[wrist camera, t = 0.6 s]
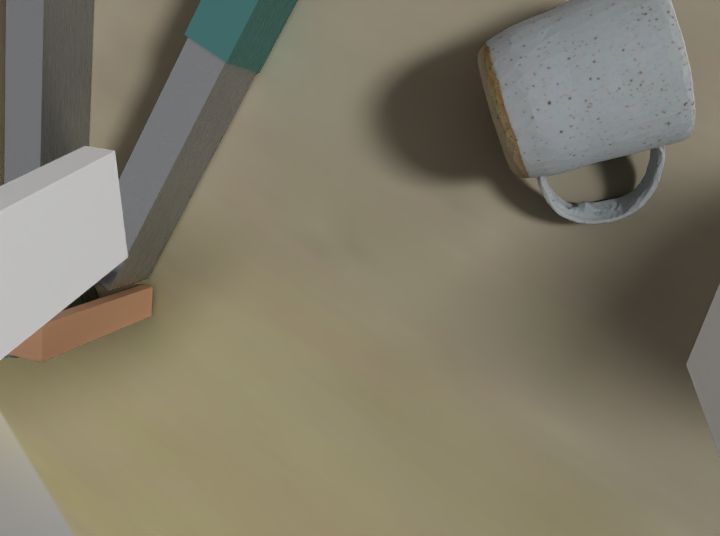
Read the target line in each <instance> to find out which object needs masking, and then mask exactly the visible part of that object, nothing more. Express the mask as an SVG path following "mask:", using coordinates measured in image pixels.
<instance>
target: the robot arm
mask: <svg viewBox="0 0 720 536" xmlns="http://www.w3.org/2000/svg"><path fill="white" fill-rule="evenodd" d="M126 258H128V253H127V245H126V236H125V228H124V220H123V212H122V204H121V195H120V187H119V179H118V171H117V163H116V154H115V151H114V150H108V149H102V148H95V147H89V146H83V147H81V148H79V149H77V150H75V151H73V152H71V153H69V154H67V155H65V156H62V157H60V158H58V159H56V160H54V161H52V162H50V163H48V164H46V165H44V166H42V167H39V168H37V169H35V170H33V171H31V172H29V173H27V174H25V175H23V176H21V177H18V178H16V179H14V180H12V181H10V182H8V183H6V184H4V185H2V186H0V360H1V359H2V358H4V357H5V356H6V355H7V354H9V353H10V352H11V351H12V350H14V349H15V348H16V347H17V346H19V345H20V344H21V343H22V342H24V341H25V340H26V339H27V338H28V337H30V336H31V335H32V334H33V333H35V332H36V331H37V330H38V329H40V328H41V327H42V326H43V325H45V324H46V323H47V322H48V321H50V320H51V319H52V318H53V317H55V316H56V315H57V314H58V313H60V312H61V311H62V310H63V309H64V308H66V307H67V306H68V305H69V304H71V303H72V302H73V301H74V300H76V299H77V298H78V297H79V296H81V295H82V294H83V293H84V292H86V291H87V290H88V289H89V288H91V287H92V286H93V285H94V284H95V283H97V282H98V281H99V280H100V279H102V278H103V277H104V276H105V275H107V274H108V273H109V272H110V271H112V270H113V269H114V268H115V267H117V266H118V265H119V264H120V263H122V262H123V261H124V260H125V259H126ZM686 366H687V369H688V371H689V374H690V377H691V380H692V382H693V385H694V388H695V391H696V393H697V396H698V399H699V402H700V404H701V407H702V410H703V413H704V415H705V418H706V421H707V424H708V426H709V429H710V432H711V435H712V437H713V440H714V443H715V446H716V448H717V451H718V454H719V457H720V284H719V287H718V289H717V291H716V294H715V296H714V299H713V301H712V303H711V306H710V308H709V311H708V313H707V316H706V318H705V320H704V323H703V325H702V328H701V330H700V332H699V335H698V337H697V340H696V342H695V344H694V347H693V349H692V352H691V354H690V356H689V359H688V361H687V364H686Z"/></svg>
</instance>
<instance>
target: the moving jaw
mask: <svg viewBox="0 0 720 536" xmlns="http://www.w3.org/2000/svg"><path fill="white" fill-rule="evenodd" d="M297 1H298V0H201V1H200V3H199V5H198V7H197V9H196V11H195V13H194V15H193V17H192V19H191V21H190V24H189V26H188V28H187V30H186V32H185V34H184V35H185V36H187V37H188V39H187V41H186V43H185V45H184V47H183V49H182V51H181V53H180V55H179V57H178V59H177V61H176V63H175V65H174V67H173V69H172V71H171V73H170V76H169V78H168V80H167V82H166V84H165V86H164V88H163V90H162V92H161V94H160V96H159V98H158V100H157V102H156V104H155V106H154V108H153V111H152V113H151V115H150V117H149V119H148V121H147V123H146V125H145V127H144V129H143V131H142V133H141V135H140V137H139V139H138V141H137V143H136V145H135V148H134V150H133V152H132V154H131V156H130V158H129V160H128V162H127V164H126V166H125V168H124V170H123V172H122V174H121V176H120V178H119V187H120V195H121V204H122V212H123V220H124V228H125V236H126V245H127V253H128V258H126V259H125V260H124V261H123V262H122V263H120V264H119V265H118V266H117V267H115V268H114V269H113V270H112V271H110V272H109V273H108V274H107V275H105V276H104V277H103V278H102V279H100V280H99V281H98V282H97V283H99V284H100V285H102V286H103V287H104V288H106V289H107V290H109V291H110V290H113V289H116V288H119V287H123V286H126V285H129V284H132V283H135V282H138V281H141V280H145V279H148V277H149V275H150V273H151V271H152V269H153V268H154V266H155V264H156V262H157V260H158V258H159V256H160V254H161V252H162V251H163V249H164V247H165V245H166V243H167V241H168V239H169V237H170V235H171V234H172V232H173V230H174V228H175V226H176V224H177V222H178V220H179V218H180V216H181V215H182V213H183V211H184V209H185V207H186V205H187V203H188V201H189V199H190V198H191V196H192V194H193V192H194V190H195V188H196V186H197V184H198V182H199V181H200V179H201V177H202V175H203V173H204V171H205V169H206V167H207V165H208V164H209V162H210V160H211V158H212V156H213V154H214V152H215V150H216V148H217V146H218V145H219V143H220V141H221V139H222V137H223V135H224V133H225V131H226V129H227V128H228V126H229V124H230V122H231V120H232V118H233V116H234V114H235V112H236V111H237V109H238V107H239V105H240V103H241V101H242V99H243V97H244V95H245V93H246V92H247V90H248V88H249V86H250V84H251V82H252V80H253V78H254V76H255V75H256V73H259V72H260V70H261V68H262V67H263V65H264V63H265V61H266V59H267V57H268V55H269V53H270V51H271V50H272V48H273V46H274V44H275V42H276V40H277V38H278V36H279V34H280V33H281V31H282V29H283V27H284V25H285V23H286V21H287V19H288V17H289V16H290V14H291V12H292V10H293V8H294V6H295V4H296V2H297ZM95 284H96V283H95ZM11 356H13V355H9V354H7V355H6V356H5V357H4V358H7V357H11Z"/></svg>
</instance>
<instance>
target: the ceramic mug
mask: <svg viewBox="0 0 720 536" xmlns="http://www.w3.org/2000/svg"><path fill="white" fill-rule="evenodd" d="M477 61H478V67H479V72H480V76H481V81H482V84H483V88H484V92H485V95H486V99H487V102H488V106H489V110H490V113H491V117H492V120H493V123H494V126H495V129H496V132H497V135H498V137H499V140H500V143H501V146H502V149H503V152H504V155H505V158H506V160H507V163H508V165H509V167H510V169H511V171H512V172H513V173H514V174H516V175H518V176H520V177H522V178H535V177H537V180H538V184H539V187H540V189H541V193H542V194H543V196H544V198H545V199H546V201H547V203H548V204H549V205H550V206H551V208H552V209H553V210H554V211H555V212H556V213H557V214H558V215H560V216H562V217H564V218H566V219H568V220H570V221H574V222H577V223H580V224H602V223H608V222H612V221H616V220H619V219H623V218H625V217H627V216H630V215H631V214H633V213H635V212H636V211H638V210H639V209H640V208H641V207H642V206H644V205H645V203H646V202H647V201H648V200H649V198H650V197H651V196H652V195H653V193H654V192H655V189H656V187H657V186H658V184H659V181H660V178H661V175H662V171H663V167H664V160H665V145H669V144H673V143H676V142H680V141H683V140H685V139H686V138H688V137H690V136H691V134H692V132H693V128H694V123H695V98H694V92H693V81H692V75H691V68H690V64H689V60H688V55H687V51H686V47H685V42H684V40H683V37H682V32H681V29H680V26H679V23H678V20H677V17H676V13H675V10H674V7H673V4H672V2H671V0H570V1H568V2H566V3H564V4H562V5H560V6H557V7H555V8H553V9H551V10H549V11H547V12H544V13H542V14H539V15H536V16H534V17H531V18H529V19H526V20H524V21H521V22H519V23H517V24H514V25H512V26H510V27H509V28H507V29H505V30H503V31H502V32H500V33H499V34H497V35H495V36H494V37H492V38H490V39H489V40H488V41H486V42H485V43H484V44H483V45H482V47H481V48H480V50H479V53H478V56H477ZM649 149H651V151H650V160H649V164H648V167H647V170H646V174H645V175H644V177H643V179H642V181H641V182H640V184H639V185H638V186H637V187H636V188H635V189H634V190H633V191H632V192H630V193H627V194H626V195H624V196H623V197H619V198H615V199H609V200H604V201H600V202H592V203H589V202H585V201H583V202H581V203H579V204H577V205H573V204H570V203H567V202H566V201H564V200H563V199H561V198H559V197H558V196H557V195H556V194H555V193H554V191H553V189H552V188H551V187H550V186H549V184H548V182H547V180H546V178H545V177H546V176H550V175H556V174H560V173H564V172H567V171H570V170H574V169H577V168H580V167H584V166H587V165H590V164H593V163H597V162H601V161H606V160H610V159H614V158H618V157H622V156H626V155H630V154H634V153H637V152H641V151H645V150H649Z"/></svg>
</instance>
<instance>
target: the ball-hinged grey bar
mask: <svg viewBox="0 0 720 536" xmlns="http://www.w3.org/2000/svg"><path fill="white" fill-rule="evenodd" d="M93 13H94V0H6V56H5V161H4V184H6V183H8V182H10V181H12V180H14V179H16V178H18V177H21V176H23V175H25V174H27V173H29V172H31V171H33V170H35V169H37V168H39V167H42V166H44V165H46V164H48V163H50V162H52V161H54V160H56V159H58V158H60V157H62V156H65V155H67V154H69V153H71V152H73V151H75V150H77V149H79V148H81V147H83V146H89V123H90V95H91V68H92V40H93ZM96 299H98V294H97V291H96V288H95V286H94V285H93V286H92V287H91V288H89V289H88V290H87V291H86V292H84V293H83V294H82V295H81V296H79V297H78V298H77V299H76V300H74V301H73V302H72V303H71V304H69V305H68V306H67V307H66V308H64V309H63V310H66V309H69V308H72V307H75V306H78V305H81V304H84V303H87V302H90V301H93V300H96ZM63 310H62V311H63ZM11 357H16V358H18V357H17V356H11Z"/></svg>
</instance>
